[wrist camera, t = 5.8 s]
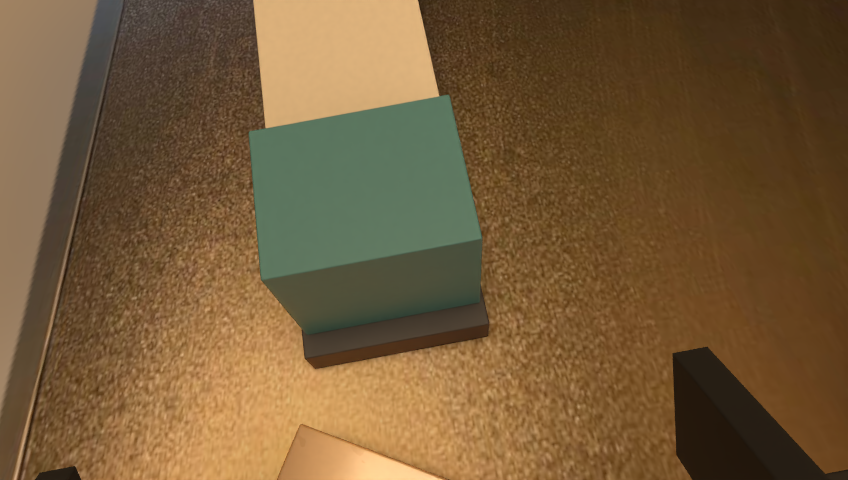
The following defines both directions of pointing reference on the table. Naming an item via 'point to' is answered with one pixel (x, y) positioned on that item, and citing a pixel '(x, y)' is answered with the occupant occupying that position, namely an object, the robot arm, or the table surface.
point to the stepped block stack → (362, 183)
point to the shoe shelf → (342, 461)
